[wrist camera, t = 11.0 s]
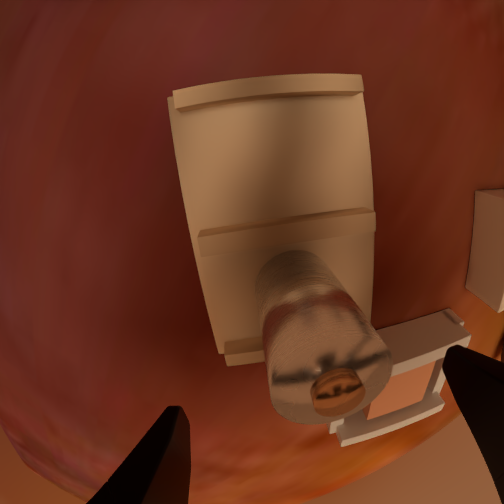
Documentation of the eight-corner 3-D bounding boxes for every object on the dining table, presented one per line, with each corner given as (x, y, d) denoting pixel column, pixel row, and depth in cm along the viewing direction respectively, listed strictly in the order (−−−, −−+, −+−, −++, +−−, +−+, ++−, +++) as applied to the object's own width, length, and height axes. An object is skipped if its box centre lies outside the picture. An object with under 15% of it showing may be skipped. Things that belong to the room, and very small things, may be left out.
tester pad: (422, 337, 17) (437, 355, 15) (410, 382, 19) (421, 400, 17) (364, 355, 17) (376, 376, 15) (357, 399, 19) (366, 420, 17)
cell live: (330, 244, 14) (411, 332, 7) (331, 313, 15) (388, 418, 8) (249, 256, 14) (265, 366, 7) (259, 325, 15) (278, 446, 8)
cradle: (449, 308, 17) (476, 332, 14) (428, 382, 20) (445, 407, 17) (326, 341, 17) (343, 379, 14) (323, 415, 20) (334, 448, 16)
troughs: (352, 83, 12) (370, 74, 10) (363, 318, 17) (377, 338, 15) (171, 101, 12) (160, 92, 10) (219, 343, 17) (218, 368, 14)
